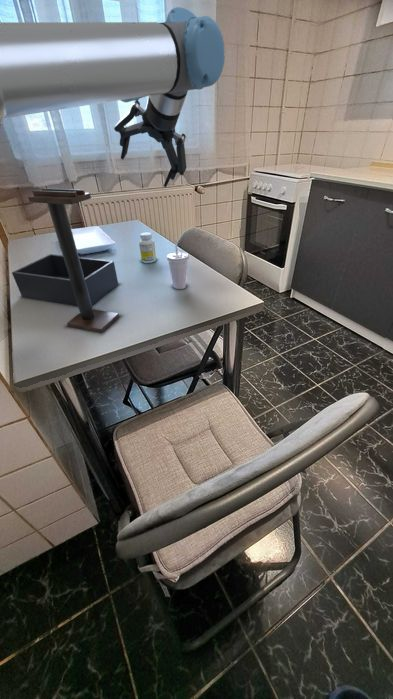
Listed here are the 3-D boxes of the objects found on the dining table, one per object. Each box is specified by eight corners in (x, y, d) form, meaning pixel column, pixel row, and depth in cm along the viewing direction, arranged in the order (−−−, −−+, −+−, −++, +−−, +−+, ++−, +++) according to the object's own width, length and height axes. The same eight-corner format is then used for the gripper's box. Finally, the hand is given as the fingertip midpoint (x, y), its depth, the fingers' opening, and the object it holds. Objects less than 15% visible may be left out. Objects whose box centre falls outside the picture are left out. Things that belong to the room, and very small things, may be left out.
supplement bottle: (150, 264, 106) (147, 236, 100) (138, 261, 108) (134, 234, 102) (159, 259, 109) (156, 232, 104) (147, 257, 112) (144, 230, 106)
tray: (99, 232, 140) (97, 224, 138) (117, 251, 118) (116, 242, 116) (62, 238, 134) (59, 230, 132) (74, 259, 112) (71, 250, 110)
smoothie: (184, 280, 94) (182, 235, 85) (193, 288, 89) (192, 241, 81) (166, 284, 91) (161, 238, 83) (174, 292, 87) (170, 244, 78)
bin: (21, 296, 87) (11, 272, 83) (57, 276, 99) (50, 254, 94) (88, 307, 81) (81, 282, 76) (118, 284, 92) (113, 261, 88)
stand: (67, 326, 73) (22, 193, 55) (87, 311, 79) (51, 186, 61) (102, 332, 71) (65, 194, 53) (119, 316, 77) (92, 187, 59)
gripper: (217, 126, 70) (187, 185, 90) (120, 53, 64) (110, 134, 83) (206, 148, 68) (178, 203, 88) (105, 74, 61) (99, 152, 81)
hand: (145, 170), depth 85 cm, fingers open, 13 cm apart
